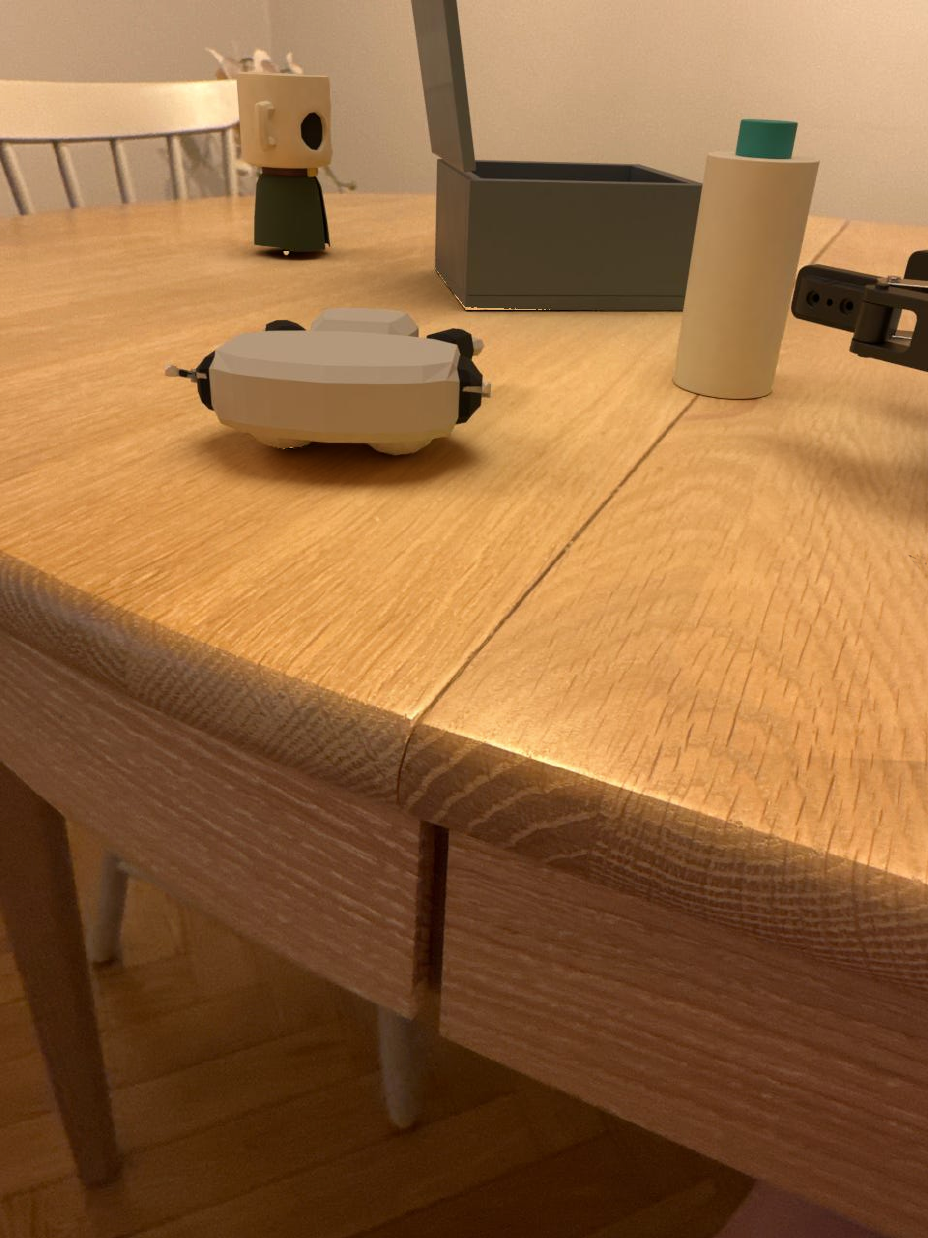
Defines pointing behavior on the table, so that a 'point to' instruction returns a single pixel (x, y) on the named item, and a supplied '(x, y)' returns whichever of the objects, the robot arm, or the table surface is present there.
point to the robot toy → (343, 381)
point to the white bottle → (744, 262)
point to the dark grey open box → (565, 235)
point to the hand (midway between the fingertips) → (856, 280)
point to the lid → (444, 81)
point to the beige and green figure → (287, 155)
